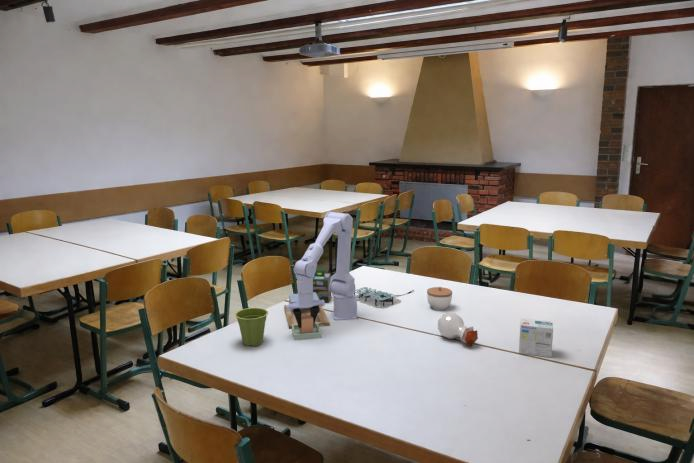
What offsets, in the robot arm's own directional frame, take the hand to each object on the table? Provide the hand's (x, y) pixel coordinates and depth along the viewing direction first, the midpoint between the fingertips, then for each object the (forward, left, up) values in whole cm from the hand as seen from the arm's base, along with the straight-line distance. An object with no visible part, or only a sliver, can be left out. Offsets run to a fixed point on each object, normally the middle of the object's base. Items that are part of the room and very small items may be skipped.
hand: (306, 326), depth 188 cm
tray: (0, 0, -3) cm, 3 cm away
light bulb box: (-76, +32, -3) cm, 83 cm away
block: (0, 0, -2) cm, 2 cm away
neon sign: (-42, -36, -4) cm, 55 cm away
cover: (-2, -23, -2) cm, 23 cm away
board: (-2, -18, -3) cm, 18 cm away
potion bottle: (-54, +17, -3) cm, 56 cm away
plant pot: (+20, +3, -3) cm, 21 cm away
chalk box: (-11, -37, -3) cm, 39 cm away
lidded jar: (-60, -16, -3) cm, 62 cm away
